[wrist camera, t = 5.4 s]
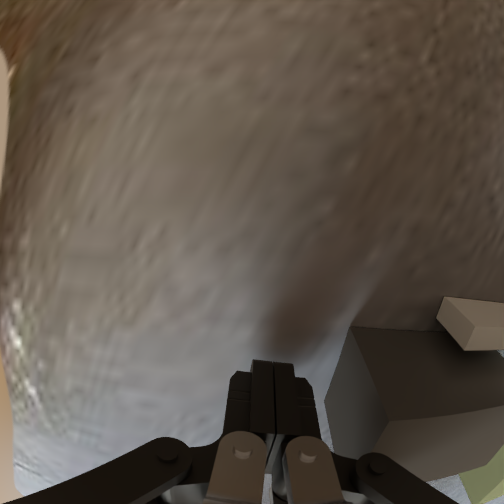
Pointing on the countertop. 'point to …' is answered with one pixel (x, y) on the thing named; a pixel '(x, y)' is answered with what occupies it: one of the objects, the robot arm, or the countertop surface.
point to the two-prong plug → (477, 338)
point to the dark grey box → (417, 401)
